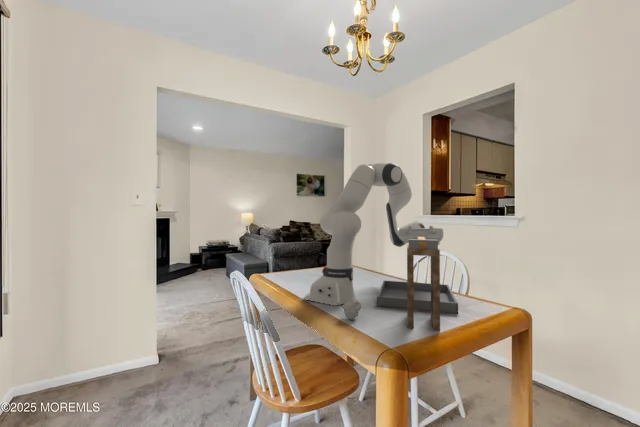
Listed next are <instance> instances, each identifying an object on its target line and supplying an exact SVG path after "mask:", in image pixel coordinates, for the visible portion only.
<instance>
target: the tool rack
mask: <svg viewBox="0 0 640 427" xmlns="http://www.w3.org/2000/svg"><path fill="white" fill-rule="evenodd" d="M440 252H441V249H440V248H438V250H430V249H409V244H407V247H406V260H407V261H406V270H407V271H406V274H407V275H406V278H407V279H406V280H407V281H406V282H407V309H406V312H407V313H406V314H407V315H406V316H407V317H406V318H407V320H406V321H407V324H406V325H407V328H410V329H414V328H415V327H414V326H415V322H414V320H415V318H414V317H415V315H414V314H415V310H414V283H415V282H414V278H415V277H414V276H415V275H414V271H415V270H414V269H415V268H414V260H415V259H414V256H419V255H421V257H422V256H427V257H428V256H429V257H430V284H431V311H430V319H431V326H432V330H433V331H434V332H435V331H437V332H440V331H441V312H440V284H441V277H440V276H441V271H440V270H441V259H440V258H441V255H440V254H441V253H440Z"/></svg>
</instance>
